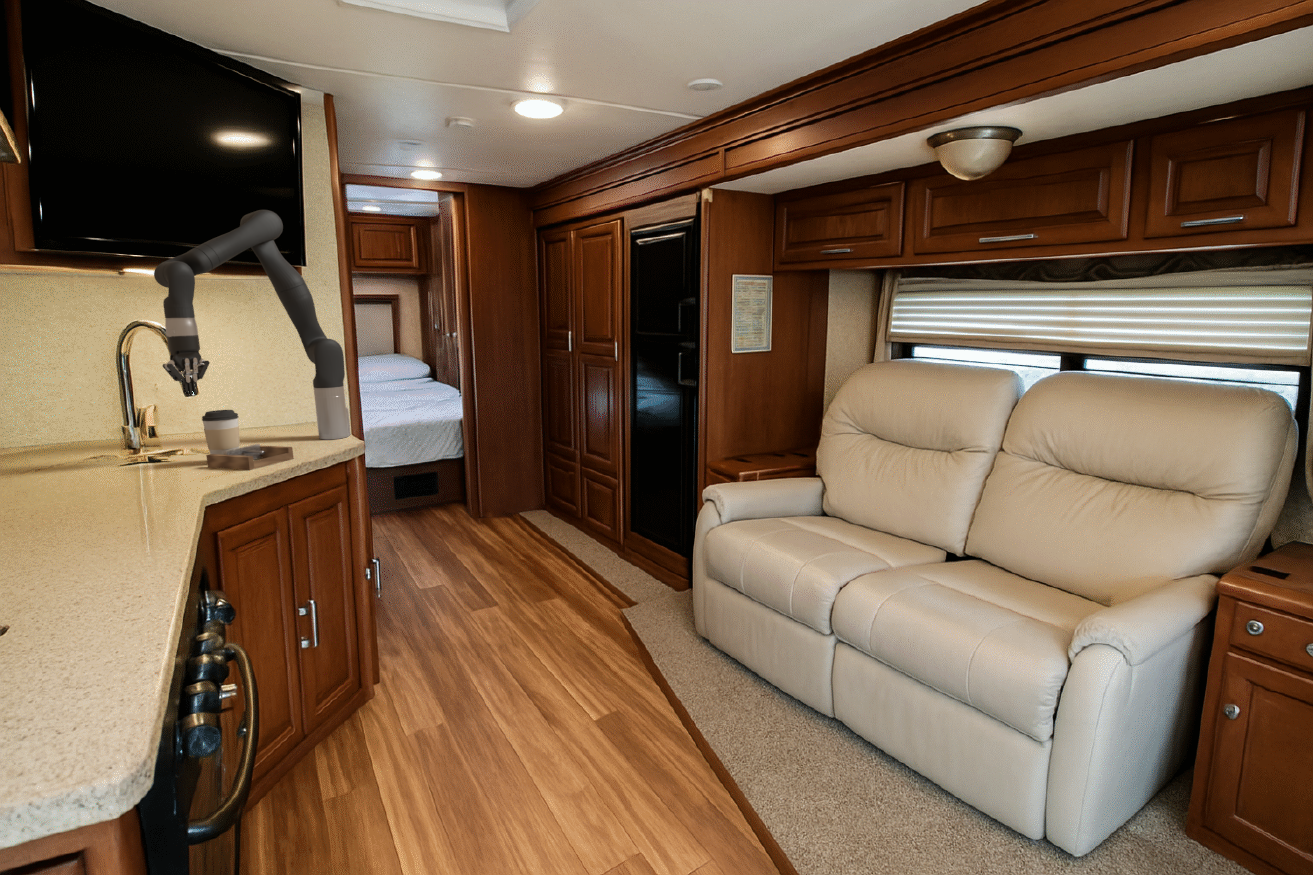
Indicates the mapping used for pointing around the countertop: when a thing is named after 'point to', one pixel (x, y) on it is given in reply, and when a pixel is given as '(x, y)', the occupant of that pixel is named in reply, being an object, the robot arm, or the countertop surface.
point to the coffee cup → (221, 430)
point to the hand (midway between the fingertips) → (190, 395)
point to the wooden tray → (251, 458)
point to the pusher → (246, 451)
